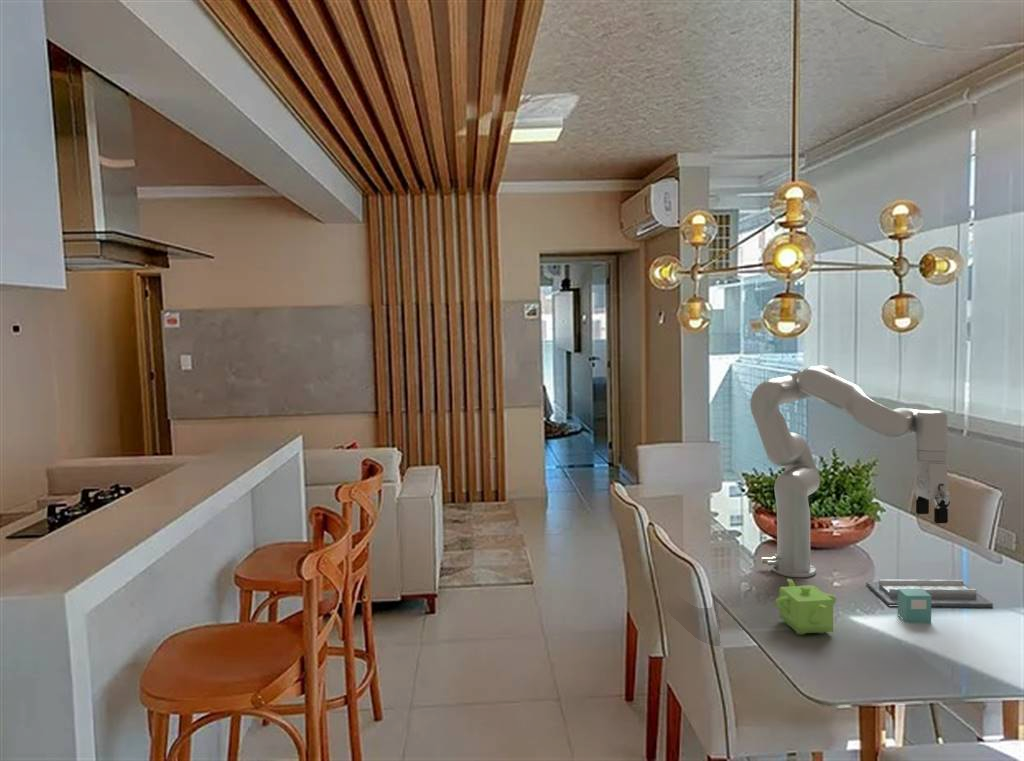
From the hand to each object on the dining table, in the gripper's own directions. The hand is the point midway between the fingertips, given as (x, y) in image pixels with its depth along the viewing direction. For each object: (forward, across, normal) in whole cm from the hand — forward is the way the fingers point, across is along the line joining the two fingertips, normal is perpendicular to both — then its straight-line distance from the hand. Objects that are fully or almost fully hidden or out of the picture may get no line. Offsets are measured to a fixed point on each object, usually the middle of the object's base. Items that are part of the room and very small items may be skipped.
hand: (931, 518), depth 196 cm
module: (+22, +14, -11) cm, 28 cm away
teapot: (+22, +19, -40) cm, 50 cm away
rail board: (+22, -2, 0) cm, 22 cm away
